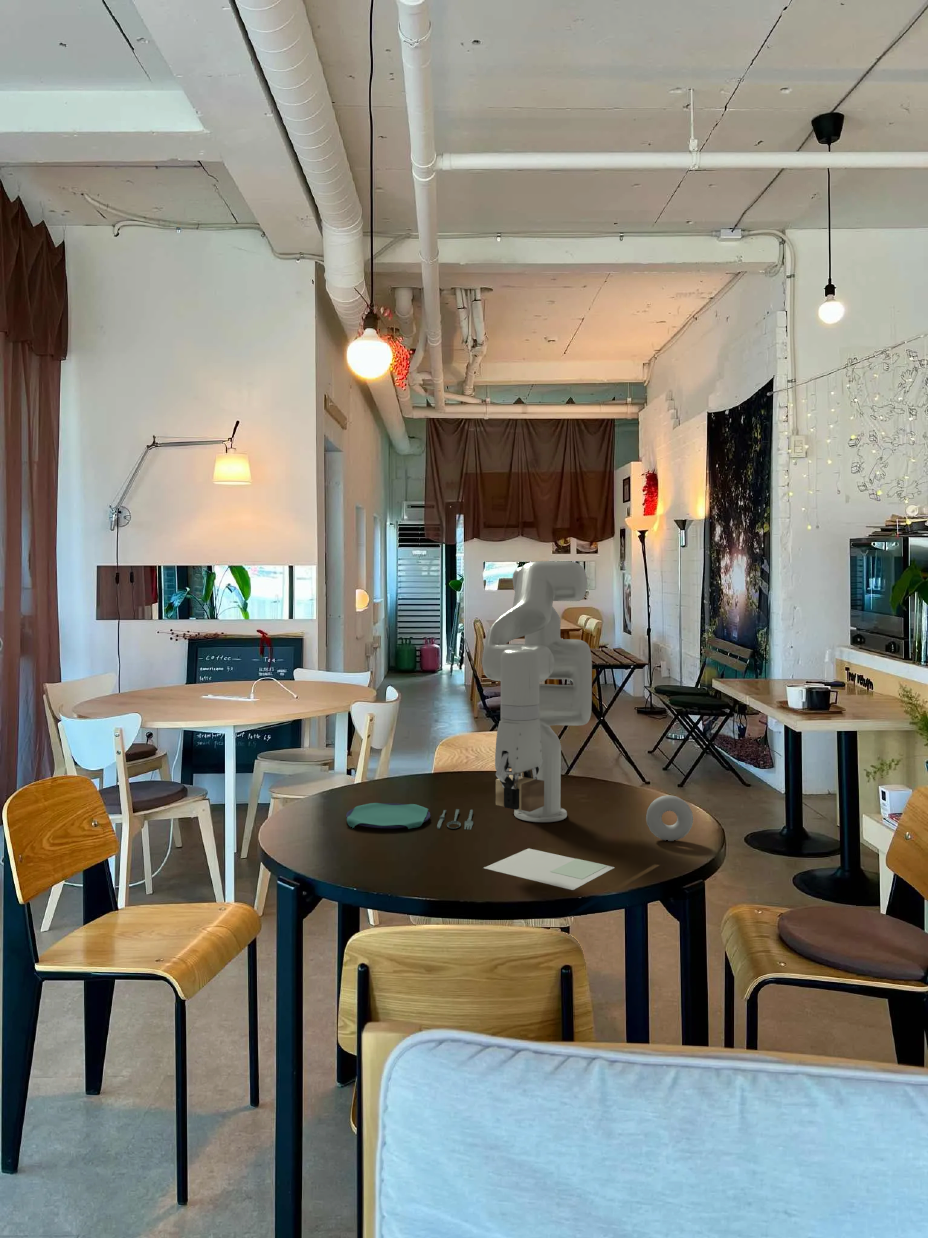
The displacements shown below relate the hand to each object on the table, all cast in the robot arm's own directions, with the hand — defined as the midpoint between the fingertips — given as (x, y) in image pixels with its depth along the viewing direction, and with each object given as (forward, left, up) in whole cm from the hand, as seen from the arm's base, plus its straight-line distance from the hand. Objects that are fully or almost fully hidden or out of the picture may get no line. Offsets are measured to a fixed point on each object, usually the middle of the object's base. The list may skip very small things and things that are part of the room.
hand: (519, 804), depth 172 cm
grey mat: (+5, +2, -13) cm, 14 cm away
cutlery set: (-40, +13, -13) cm, 44 cm away
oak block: (0, 0, 0) cm, 0 cm away
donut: (+15, +36, -13) cm, 41 cm away
